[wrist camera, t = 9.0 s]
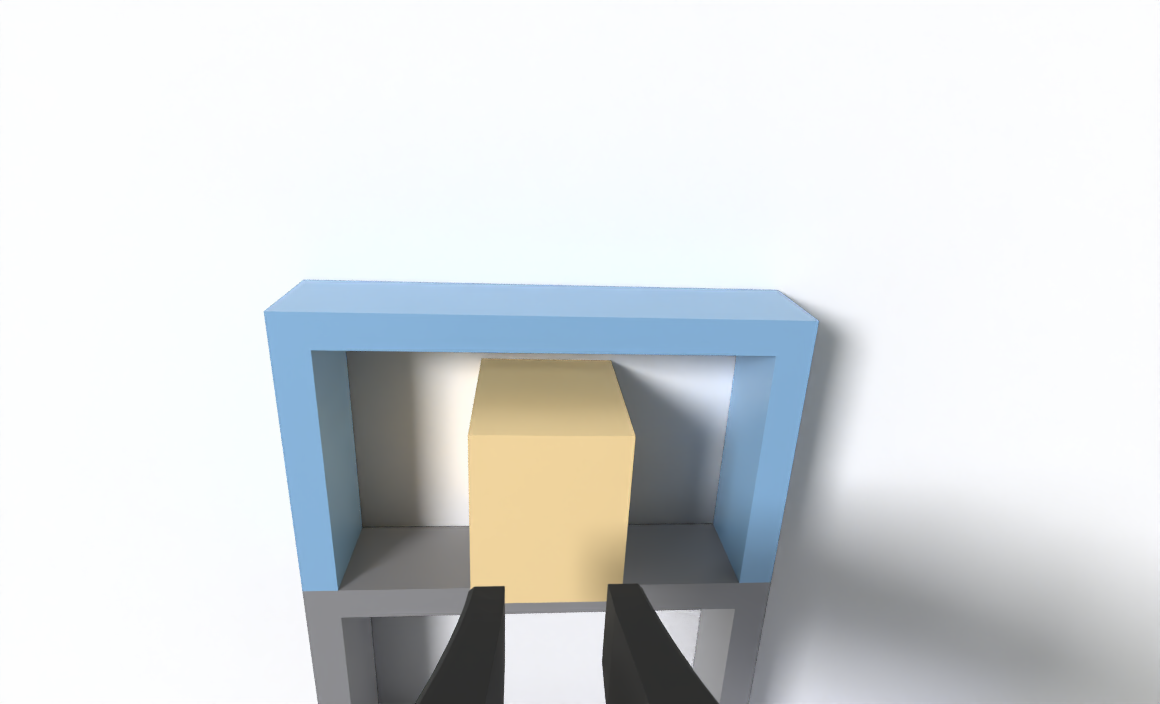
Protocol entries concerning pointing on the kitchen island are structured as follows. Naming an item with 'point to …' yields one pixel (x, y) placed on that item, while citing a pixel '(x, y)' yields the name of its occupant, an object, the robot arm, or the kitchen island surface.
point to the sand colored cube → (549, 479)
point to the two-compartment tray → (442, 554)
